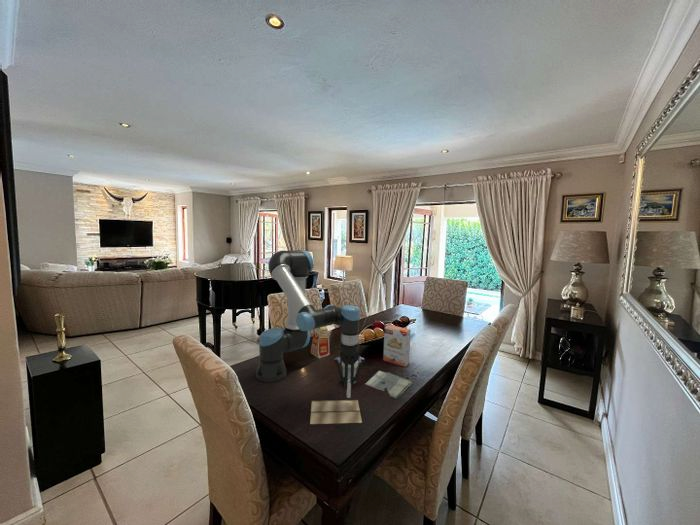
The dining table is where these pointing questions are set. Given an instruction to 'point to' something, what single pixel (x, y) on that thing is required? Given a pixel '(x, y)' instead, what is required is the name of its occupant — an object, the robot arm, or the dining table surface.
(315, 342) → the milk carton
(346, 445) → the dining table surface
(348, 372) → the coffee cup
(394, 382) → the dish towel
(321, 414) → the laid plank
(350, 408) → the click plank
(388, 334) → the cracker box
